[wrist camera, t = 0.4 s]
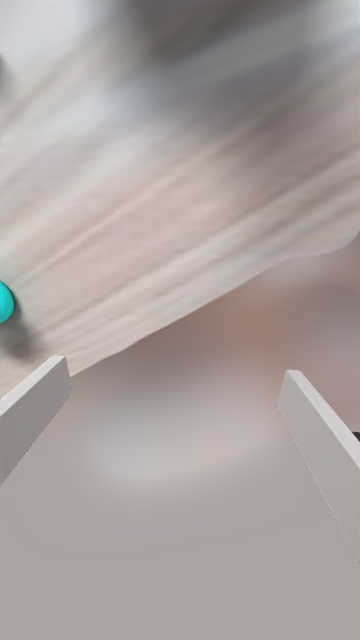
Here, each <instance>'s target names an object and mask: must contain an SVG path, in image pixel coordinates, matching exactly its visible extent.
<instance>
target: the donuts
mask: <svg viewBox="0 0 360 640" xmlns="http://www.w3.org/2000/svg"><path fill="white" fill-rule="evenodd" d="M13 309H14V302H13V298H12V295H11V293H10V292H9V290H8V289H7V287H6V286H5V285H4V284H3V283H2V282H0V323H1V322H3V321H5V320H7V319H8V318H9V317H10V316H11V314H12V312H13Z"/></svg>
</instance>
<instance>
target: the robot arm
mask: <svg viewBox="0 0 360 640" xmlns="http://www.w3.org/2000/svg"><path fill="white" fill-rule="evenodd" d="M71 394H72V387H71V382H70V376H69V371H68V366H67V362H66V357H65V356H56V355H53V356H52V357H50V358H49V359H48V360H47V361H46V362H44V363H43V364H42V365H41V366H40V367H38V368H37V369H36V370H35V371H34V372H32V373H31V374H30V375H29V376H28V377H26V378H25V379H24V380H23V381H22V382H21V383H19V384H18V385H17V386H16V387H15V388H13V389H12V390H11V391H10V392H9V393H7V394H6V395H5V396H4V397H3V398H1V399H0V486H1V484H2V483H3V482H4V481H5V479H6V478H7V477H8V475H9V474H10V473H11V471H12V470H13V469H14V468H15V466H16V465H17V464H18V462H19V461H20V460H21V458H22V457H23V456H24V455H25V453H26V452H27V451H28V450H29V448H30V447H31V446H32V444H33V443H34V442H35V440H36V439H37V438H38V436H39V435H40V434H41V433H42V431H43V430H44V429H45V428H46V426H47V425H48V423H49V422H50V421H51V420H52V419H53V417H54V416H55V415H56V413H57V412H58V411H59V409H60V408H61V407H62V406H63V404H64V403H65V402H66V400H67V399H68V398H69V396H70V395H71ZM276 407H277V409H278V411H279V413H280V415H281V416H282V418H283V421H284V422H285V424H286V426H287V428H288V430H289V432H290V434H291V436H292V438H293V440H294V442H295V444H296V446H297V448H298V450H299V451H300V453H301V455H302V457H303V459H304V461H305V463H306V465H307V467H308V469H309V471H310V473H311V474H312V476H313V479H314V480H315V482H316V484H317V486H318V488H319V490H320V492H321V494H322V496H323V498H324V500H325V502H326V504H327V506H328V508H329V509H330V511H331V513H332V515H333V517H334V519H335V521H336V522H337V525H338V527H339V529H340V531H341V533H342V534H343V537H344V538H345V540H346V542H347V544H348V546H349V548H350V550H351V552H352V554H353V556H354V558H355V560H356V562H360V433H359V432H351V431H350V430H349V429H348V427H347V426H346V425H345V424H344V423H343V422H342V420H341V419H340V418H339V417H338V416H337V414H336V413H335V412H334V411H333V410H332V409H331V407H330V406H329V405H328V404H327V402H326V401H325V400H324V399H323V398H322V397H321V395H320V394H319V393H318V392H317V391H316V389H315V388H314V387H313V386H312V385H311V383H310V382H309V381H308V380H307V379H306V378H305V376H304V375H303V374H302V373H301V372H300V371H299V370H286V372H285V376H284V379H283V383H282V387H281V390H280V393H279V397H278V400H277V404H276Z"/></svg>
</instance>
